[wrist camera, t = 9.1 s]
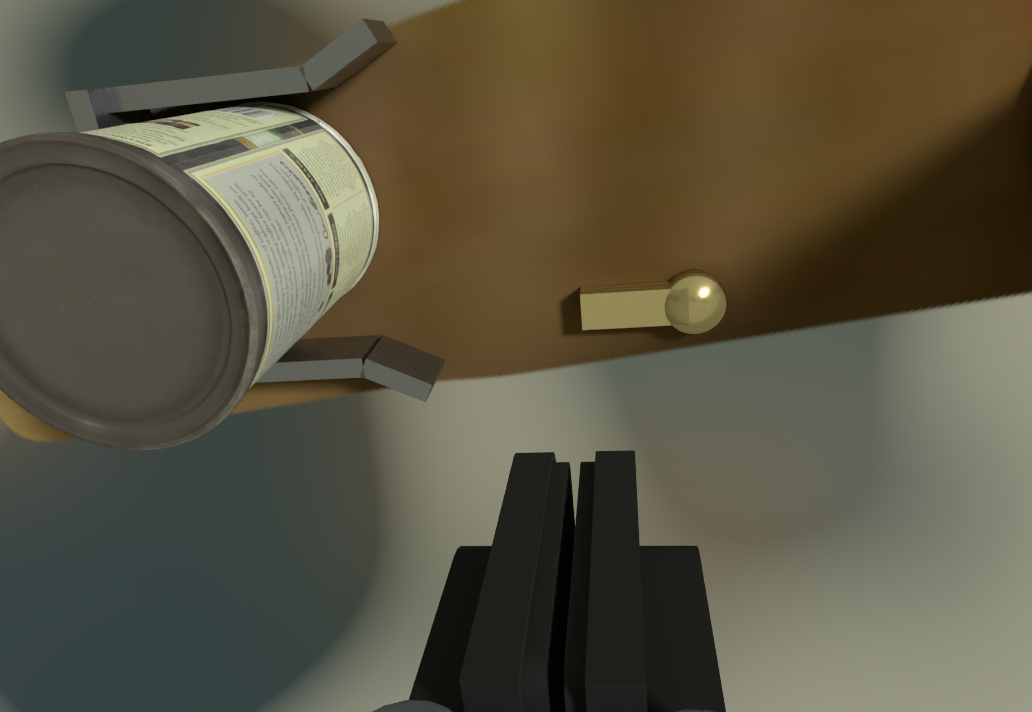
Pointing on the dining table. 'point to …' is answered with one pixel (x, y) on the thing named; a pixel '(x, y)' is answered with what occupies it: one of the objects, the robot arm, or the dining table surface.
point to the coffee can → (171, 264)
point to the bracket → (321, 72)
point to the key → (656, 304)
